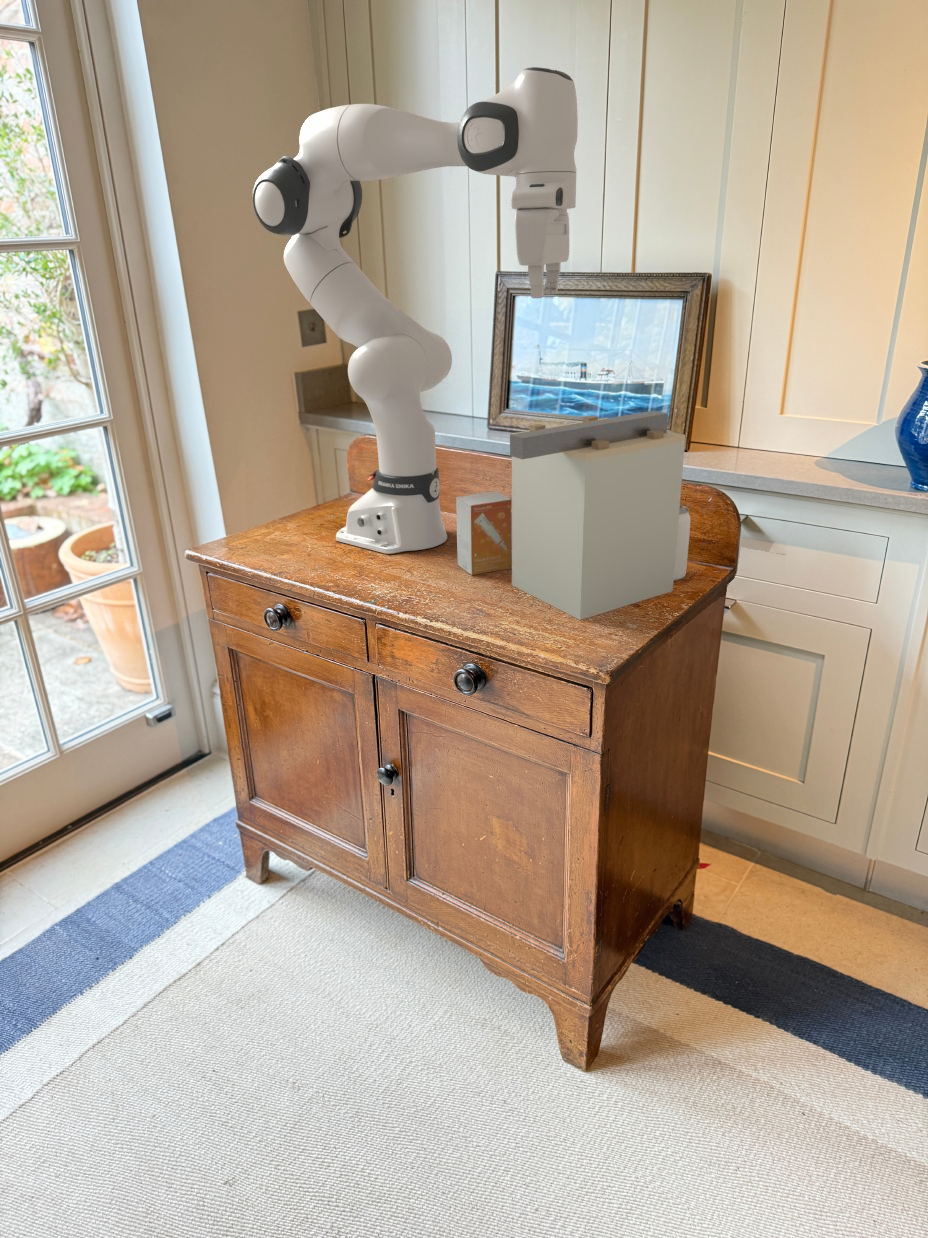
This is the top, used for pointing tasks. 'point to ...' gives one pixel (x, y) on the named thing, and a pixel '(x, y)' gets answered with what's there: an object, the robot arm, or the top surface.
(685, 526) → the can
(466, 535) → the small box
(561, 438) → the long grey bar
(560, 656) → the top surface
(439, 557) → the top surface
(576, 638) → the top surface
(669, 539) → the stand
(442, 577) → the top surface
